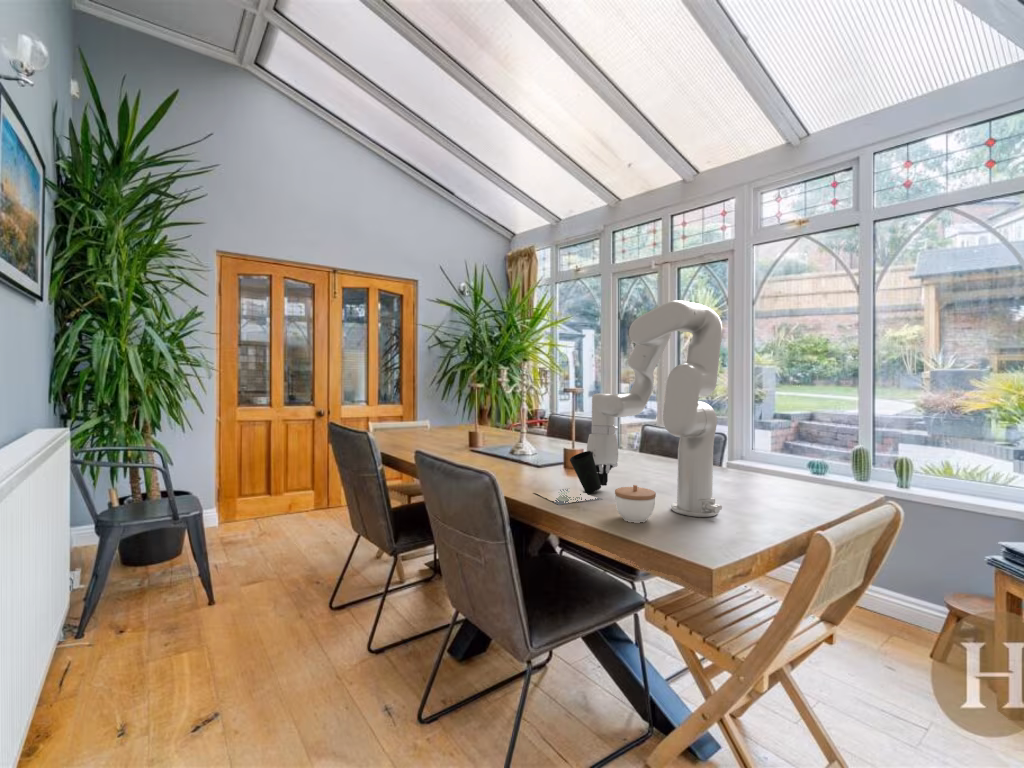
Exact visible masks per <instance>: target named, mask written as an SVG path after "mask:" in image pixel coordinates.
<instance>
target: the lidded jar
mask: <svg viewBox="0 0 1024 768" xmlns="http://www.w3.org/2000/svg"><path fill="white" fill-rule="evenodd" d="M614 495H615V497H614V498H615V500H614V502H615V506H616V510H617V512H618V514H619V515H620V516H621V517H622V519H624V520H623V521H624V522H627V521H628V523H631V522H634V523H633V524H641V523H640V522H643V523H646V522H647V520H648V519H649V518H650V517H651V516H652V515H653V513H654V510H655V505H656V497H657V495H656V492H655V491H654V490H652V489H650V488H645V487H638V485H637V484H633V486H623V487H618V488H616V489H614ZM645 521H646V522H645Z"/></svg>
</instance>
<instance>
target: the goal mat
mask: <svg viewBox="0 0 1024 768" xmlns="http://www.w3.org/2000/svg"><path fill="white" fill-rule="evenodd" d="M564 489H565V490H566V489H567V490H566V491H567V492H568V493H569V492H570V491H568V489H569V488H563V489H562V490H563V491H564ZM559 490H560V491H561V489H559ZM567 492H565V491H564V492H562V491H561V493H560V492H558V493H560V494H561V495H562V494H564V495H565V493H566V494H567ZM560 494H559V495H560ZM561 495H560V496H559V497H558V498H556V499H557V500H558V501H559V502H558V501H557V500H555V501H556V502H554V503H553V504H555V503H556V504H555V505H557V504H558V506H562V504H564V505H570V504H569V502H568V501H569V499H570V498H571V497H568V496H567V495H565V496H566V497H565V496H564V495H562V496H563V497H562V496H561ZM580 495H581V494H580ZM567 497H568V498H569V499H568V498H567ZM573 498H574V497H573ZM576 498H577V499H578V498H579V499H580V497H576ZM576 498H575V500H576ZM599 499H601V500H602V498H601V497H598V498H597V499H596V498H595V500H594V501H599ZM570 500H572V499H570ZM573 500H574V499H573ZM581 500H582V497H581ZM585 500H586V499H585ZM592 500H593V499H592ZM592 500H591V499H590V500H588V501H587V500H586V502H591V501H592ZM564 501H565V503H564ZM577 501H578V500H577ZM577 501H576V503H575V504H578V503H577ZM566 502H568V503H566ZM578 502H579V501H578ZM592 502H593V501H592ZM579 503H583V502H582V501H580V502H579Z"/></svg>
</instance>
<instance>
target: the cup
mask: <svg viewBox="0 0 1024 768" xmlns="http://www.w3.org/2000/svg"><path fill="white" fill-rule="evenodd" d="M569 462H570V463H571V465H572V467H573V470H574V472H575V473H576V476H577V478H578V480H579V482H580V484H581V486H582V489H583V490H584V492H585V493H588V494H591V493H595V492H598V491H599V490H600V489H601V488H602V485H601V484H600V480H599V477H598V472H597V469H596V466H595V462H594V458H593V455H592V452H591V451H587V450H586V451H583V452H579V453H577V454H575V455H573V456H572V457H570V459H569Z"/></svg>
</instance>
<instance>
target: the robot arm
mask: <svg viewBox="0 0 1024 768" xmlns="http://www.w3.org/2000/svg"><path fill="white" fill-rule="evenodd" d="M674 332H682V333H683V332H685V333H690V334H691V335H692V337H691V339H690V342H689V343H688V344H689V345H688V347H687V356H686V361H685V362H686V363H680V364H678V365H676V366H675V367H673V368H672V369H671V371H670V372H669V374H668V377H667V379H666V385H665V393H664V403H663V413H662V414H663V415H662V420H663V426H664V428H665V430H666V431H667V432H668V433H669V434H670V435H672V436H674V437H675V438H679V441H678V445H677V447H678V448H677V479H676V480H677V488H676V489H677V490H676V494H677V495H676V502H673V503H672V504H671V507H670V509H671V510H672V511H673V512H674V513H677V514H680V515H682V516H688V517H696V518H698V517H699V518H706V517H708V518H709V517H713V516H716V515H718V514H719V513H720V511H722V509H723V506H722V505H721V504H718V503H716V498H715V497H713V486H714V485H713V484H714V483H713V481H714V480H713V478H714V476H713V475H714V446H715V445H714V444H715V438H716V437H715V435H716V431H717V425H718V418H717V413H716V411H715V410H714V408H713V406H711V405H710V404H708V403H707V402H704V401H699V398H702V397H703V398H704V397H707V396H708V397H709V395H711V394H712V393H714V391H715V389H716V387H717V383H718V382H717V381H718V372H719V363H720V355H721V354H720V351H721V345H722V338H723V323H722V320H721V318H720V316H719V315H718V314H717V312H716V311H715V310H713V309H712V308H710V307H708V306H706V305H703V304H701V303H696V302H692V301H691V302H690V301H686V300H680V299H679V300H678V299H676V300H671V301H668V302H665V303H663V304H661V305H660V306H657V307H656V308H654V309H651V310H650V311H647V312H645V313H643V314H642V315H640V316H638V317H637V318H635V319H634V320H633V321H632V323H631V324H630V326H629V329H628V335H629V339H630V341H631V342H632V343H634V344H635V345H634V347H633V350H632V351H631V354H630V355H629V357H628V360H627V364H628V366H629V368H631V369H632V370H633V372H634V381H633V384H632V387H631V388H630V390H629V392H626V393H614V394H612V393H602V392H601V393H599V392H598V393H594V394H593V395H592V397H591V433H589V434H588V439H587V443H586V451H591V452H592V455H593V458H594V462H595V466H596V469H597V473H598V477H599V480H600V484H601V487H604V486H606V487H607V485H608V477H609V473H610V471H611V470H612V469H614V468H616V467H619V466H618V462H619V445H618V439H617V435H616V434H615V433H616V431H618V430H619V428H618V426H616V425H615V418H625V417H634V416H638V415H639V414H641V413H642V412H643V411H644V410H645V408H646V406H647V404H648V402H649V400H650V398H651V396H652V394H653V392H654V391H653V390H654V382H655V381H654V380H655V379H654V372H655V369H656V367H657V366H658V363H659V361H660V359H661V357H662V355H663V353H664V351H665V348H666V347H667V346H668V345H667V344H668V343H669V341H670V339H671V336H672V333H674Z"/></svg>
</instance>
